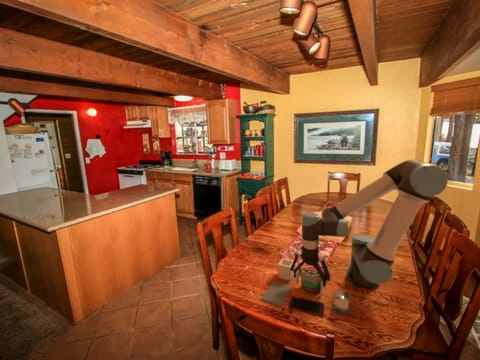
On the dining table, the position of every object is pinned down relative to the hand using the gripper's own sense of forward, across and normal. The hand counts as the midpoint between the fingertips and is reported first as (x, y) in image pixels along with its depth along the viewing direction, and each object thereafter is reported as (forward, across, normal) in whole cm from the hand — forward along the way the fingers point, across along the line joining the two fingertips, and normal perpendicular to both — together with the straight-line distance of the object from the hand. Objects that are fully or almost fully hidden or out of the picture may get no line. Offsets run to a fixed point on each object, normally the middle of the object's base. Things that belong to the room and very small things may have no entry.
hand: (309, 287), depth 114 cm
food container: (+2, -1, 0) cm, 2 cm away
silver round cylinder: (+2, -15, +5) cm, 16 cm away
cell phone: (+2, -2, +11) cm, 11 cm away
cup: (+2, +14, -6) cm, 15 cm away
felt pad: (+2, +13, +9) cm, 16 cm away
